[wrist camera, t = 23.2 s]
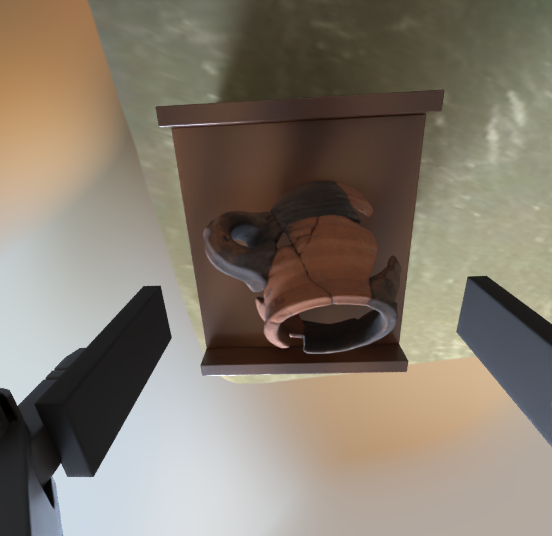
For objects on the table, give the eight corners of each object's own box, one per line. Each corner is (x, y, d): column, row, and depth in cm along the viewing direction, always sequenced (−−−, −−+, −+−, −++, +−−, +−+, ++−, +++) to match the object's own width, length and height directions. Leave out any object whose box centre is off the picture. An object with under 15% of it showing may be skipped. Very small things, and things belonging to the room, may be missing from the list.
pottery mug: (408, 192, 21) (457, 303, 16) (332, 273, 28) (350, 368, 23) (226, 128, 17) (215, 249, 12) (191, 242, 24) (175, 349, 19)
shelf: (372, 109, 30) (445, 89, 16) (361, 282, 37) (407, 372, 23) (213, 118, 31) (154, 106, 17) (232, 287, 38) (202, 376, 24)
